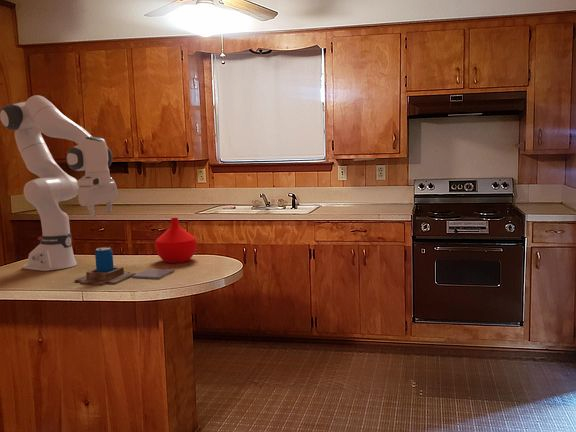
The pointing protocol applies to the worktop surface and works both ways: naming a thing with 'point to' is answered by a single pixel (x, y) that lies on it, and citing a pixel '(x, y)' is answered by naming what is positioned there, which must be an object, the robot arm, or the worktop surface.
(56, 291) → the worktop surface
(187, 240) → the vase
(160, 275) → the coaster
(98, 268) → the beverage can
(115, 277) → the socket
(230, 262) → the worktop surface
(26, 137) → the robot arm
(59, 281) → the worktop surface
